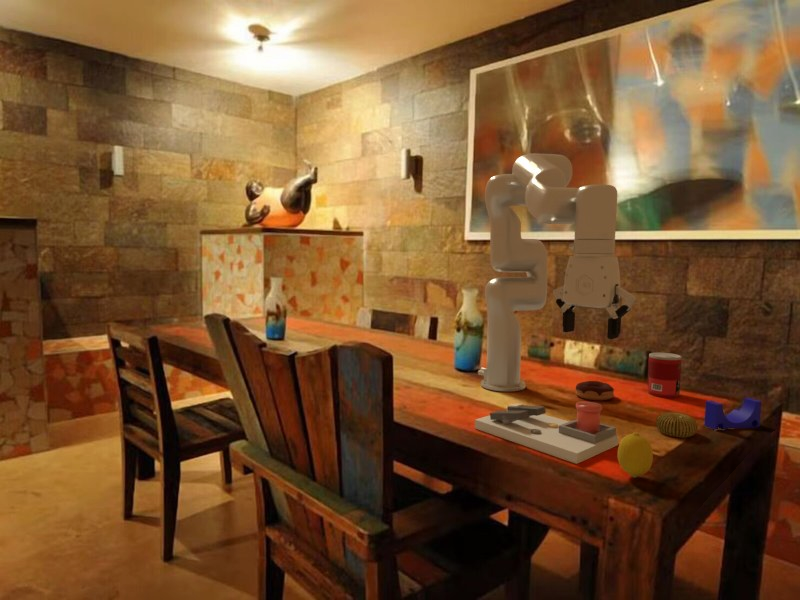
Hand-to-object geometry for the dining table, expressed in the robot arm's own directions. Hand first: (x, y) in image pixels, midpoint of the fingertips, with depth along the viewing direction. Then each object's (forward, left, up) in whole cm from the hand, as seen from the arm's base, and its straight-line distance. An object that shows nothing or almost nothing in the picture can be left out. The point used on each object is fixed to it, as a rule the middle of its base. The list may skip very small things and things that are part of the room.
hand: (590, 334), depth 105 cm
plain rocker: (-13, -8, -20) cm, 25 cm away
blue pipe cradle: (+15, +35, -23) cm, 44 cm away
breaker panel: (-8, -4, -22) cm, 24 cm away
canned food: (-7, +50, -23) cm, 56 cm away
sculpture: (+9, +20, -23) cm, 32 cm away
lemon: (+14, -9, -23) cm, 28 cm away
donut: (-17, +33, -23) cm, 44 cm away
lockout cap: (0, 0, -20) cm, 20 cm away
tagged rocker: (-13, -2, -20) cm, 24 cm away
